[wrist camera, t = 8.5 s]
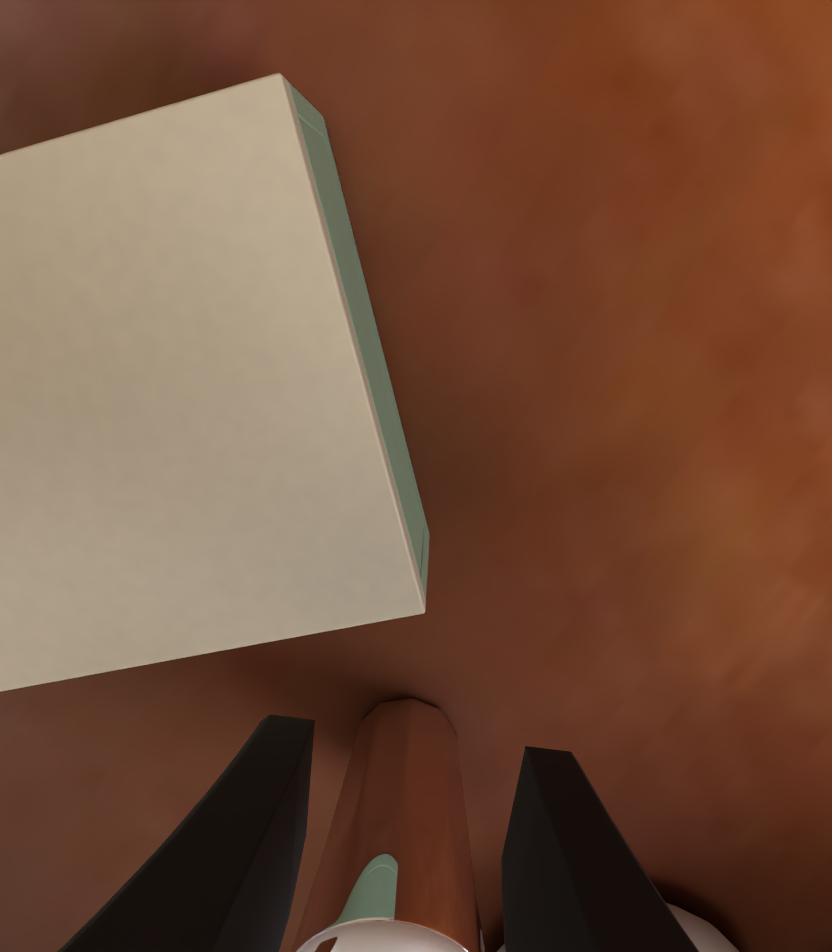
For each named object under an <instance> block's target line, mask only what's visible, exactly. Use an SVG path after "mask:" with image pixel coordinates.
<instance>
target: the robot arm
mask: <svg viewBox="0 0 832 952" xmlns="http://www.w3.org/2000/svg"><path fill="white" fill-rule="evenodd" d="M314 722H315V720H310V719H302V718H293V717H285V716H277V715H269V716H267V717H266V718H264V719H263V720H261V722H260V723H259V725H258V726H257V728H256V729H255V731H254V732H253V734H252V735H251V736H250V738H249V739H248V740H247V742H246V743H245V745H244V746H243V747H242V749H241V750H240V751H239V753H238V754H237V755H236V757H235V758H234V759H233V760H232V762H231V763H230V764H229V766H228V767H227V768H226V769H225V771H224V772H223V773H222V774H221V776H220V777H219V778H218V779H217V781H216V782H215V783H214V784H213V786H212V787H211V788H210V789H209V790H208V792H207V793H206V794H205V795H204V796H203V798H202V799H201V800H200V801H199V802H198V803H197V805H196V806H195V807H194V808H193V809H192V810H191V812H190V813H189V814H188V815H187V816H186V817H185V819H184V820H183V821H182V822H181V823H180V824H179V825H178V827H177V828H176V829H175V830H174V831H173V832H172V834H171V835H170V836H169V837H168V838H167V839H166V840H165V842H164V843H163V844H162V845H161V846H160V847H159V848H158V849H157V850H156V852H155V853H154V854H153V855H152V856H151V857H150V858H149V859H148V860H147V861H146V862H145V863H144V864H143V865H142V866H141V867H140V868H139V870H138V871H137V872H136V873H135V874H134V875H133V876H132V877H131V878H130V879H129V880H128V881H127V882H126V883H125V884H124V885H123V886H122V887H121V888H120V890H119V891H118V892H117V893H116V894H115V895H114V896H113V897H112V898H111V899H110V900H109V901H108V902H107V903H106V904H105V905H104V906H103V907H102V908H101V909H100V910H99V911H98V912H97V913H96V914H95V916H94V917H93V918H92V919H91V920H89V921H88V922H87V923H86V924H85V925H84V926H83V927H82V928H81V929H80V930H79V931H78V932H77V933H76V934H75V935H74V936H73V937H72V938H71V939H70V940H69V941H68V942H67V943H66V944H65V945H64V946H63V947H62V948H61V949H60V950H59V951H58V952H279V948H280V945H281V942H282V938H283V935H284V932H285V928H286V925H287V922H288V918H289V914H290V910H291V905H292V900H293V895H294V891H295V886H296V881H297V876H298V871H299V866H300V861H301V856H302V851H303V847H304V842H305V837H306V828H307V815H308V802H309V788H310V775H311V762H312V748H313V735H314ZM502 891H503V920H504V944H505V952H699V951H698V949H697V948H696V946H695V945H694V943H693V942H692V940H691V939H690V938H689V936H688V935H687V933H686V932H685V930H684V929H683V928H682V926H681V925H680V923H679V922H678V920H677V919H676V917H675V916H674V914H673V913H672V911H671V910H670V908H669V907H668V905H667V904H666V902H665V901H664V899H663V898H662V896H661V895H660V893H659V892H658V890H657V889H656V887H655V886H654V884H653V883H652V881H651V880H650V878H649V877H648V875H647V874H646V872H645V871H644V869H643V868H642V866H641V865H640V863H639V862H638V860H637V858H636V857H635V855H634V854H633V852H632V851H631V849H630V847H629V846H628V844H627V843H626V841H625V839H624V838H623V836H622V835H621V833H620V831H619V830H618V828H617V827H616V825H615V823H614V822H613V820H612V818H611V817H610V815H609V813H608V812H607V810H606V808H605V807H604V805H603V803H602V802H601V800H600V798H599V797H598V795H597V793H596V792H595V790H594V788H593V787H592V785H591V783H590V782H589V780H588V778H587V776H586V775H585V773H584V771H583V770H582V768H581V766H580V764H579V763H578V761H577V759H576V758H575V757H574V755H573V754H572V753H571V752H568V751H560V750H552V749H544V748H536V747H528V746H526V747H525V752H524V756H523V761H522V766H521V770H520V775H519V780H518V784H517V789H516V794H515V798H514V803H513V808H512V812H511V817H510V822H509V826H508V831H507V835H506V840H505V845H504V849H503V854H502Z"/></svg>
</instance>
